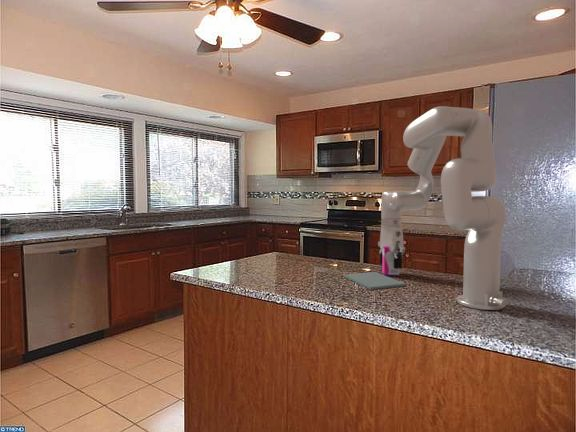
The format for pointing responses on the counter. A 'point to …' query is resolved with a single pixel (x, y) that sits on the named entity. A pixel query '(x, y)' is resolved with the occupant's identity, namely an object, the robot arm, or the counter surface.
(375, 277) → the rubber mat
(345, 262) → the counter surface
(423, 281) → the counter surface
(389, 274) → the supplement box
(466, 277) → the robot arm
